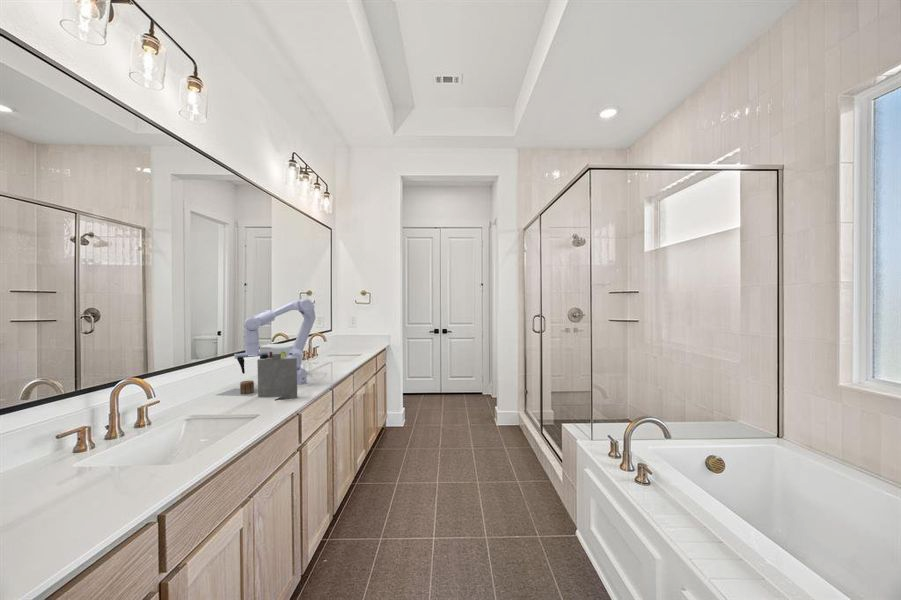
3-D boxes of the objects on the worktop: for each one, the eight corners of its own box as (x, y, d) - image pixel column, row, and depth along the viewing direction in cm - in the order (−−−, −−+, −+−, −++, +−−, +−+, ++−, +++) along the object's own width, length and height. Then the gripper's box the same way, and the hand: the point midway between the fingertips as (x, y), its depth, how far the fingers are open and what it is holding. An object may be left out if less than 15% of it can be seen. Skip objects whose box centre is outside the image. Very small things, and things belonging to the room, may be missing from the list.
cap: (246, 391, 168) (245, 380, 168) (256, 391, 167) (256, 380, 167) (237, 394, 163) (237, 382, 163) (248, 394, 162) (248, 383, 162)
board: (269, 392, 171) (269, 389, 171) (251, 399, 159) (251, 396, 159) (234, 391, 174) (234, 388, 174) (214, 398, 162) (214, 395, 162)
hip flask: (298, 396, 163) (297, 351, 163) (295, 399, 159) (295, 353, 159) (259, 399, 160) (258, 353, 160) (256, 401, 156) (255, 354, 156)
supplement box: (259, 379, 201) (258, 346, 201) (268, 374, 214) (268, 343, 214) (291, 378, 203) (291, 345, 203) (299, 373, 216) (298, 343, 216)
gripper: (235, 345, 165) (236, 375, 165) (270, 342, 174) (271, 371, 174) (233, 344, 171) (234, 373, 171) (267, 341, 180) (268, 369, 180)
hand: (252, 372), depth 173 cm, fingers open, 7 cm apart
